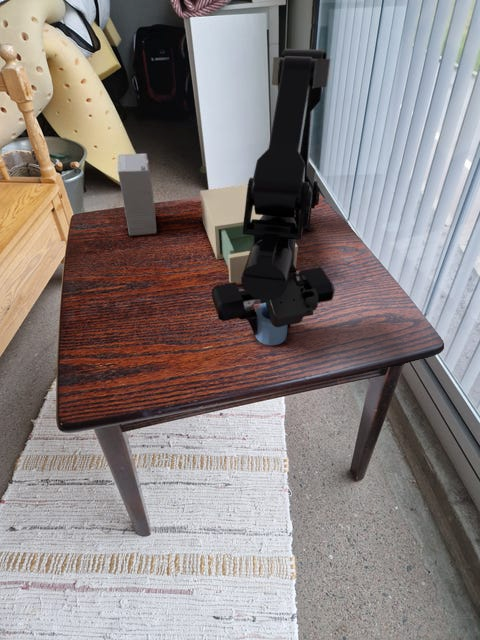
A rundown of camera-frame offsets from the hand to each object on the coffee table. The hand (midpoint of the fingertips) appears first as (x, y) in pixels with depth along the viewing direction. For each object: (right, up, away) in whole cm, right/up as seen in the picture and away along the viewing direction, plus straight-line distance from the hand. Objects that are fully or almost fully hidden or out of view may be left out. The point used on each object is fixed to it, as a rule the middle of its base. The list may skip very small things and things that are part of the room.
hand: (270, 330), depth 72 cm
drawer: (-2, +13, +14) cm, 19 cm away
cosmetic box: (-28, +24, +27) cm, 46 cm away
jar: (0, -1, +1) cm, 1 cm away
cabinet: (-5, +21, +24) cm, 32 cm away
